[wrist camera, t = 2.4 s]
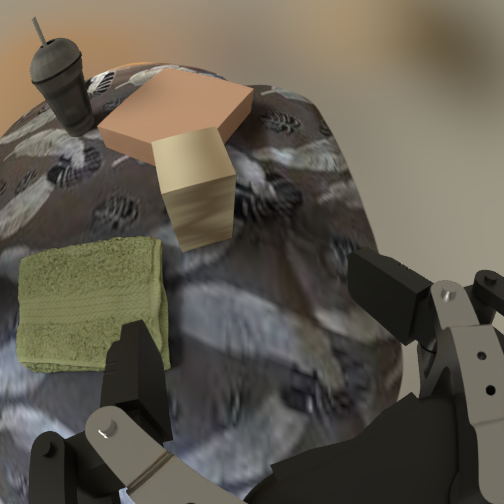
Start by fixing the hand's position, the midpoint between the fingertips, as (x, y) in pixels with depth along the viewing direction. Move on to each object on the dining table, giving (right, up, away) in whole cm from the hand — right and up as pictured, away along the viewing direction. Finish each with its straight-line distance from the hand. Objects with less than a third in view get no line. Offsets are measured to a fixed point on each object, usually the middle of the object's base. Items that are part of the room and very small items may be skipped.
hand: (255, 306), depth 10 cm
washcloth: (-16, -4, +14) cm, 22 cm away
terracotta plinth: (-10, +18, +22) cm, 30 cm away
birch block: (-5, +5, +17) cm, 19 cm away
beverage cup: (-25, +20, +22) cm, 39 cm away
